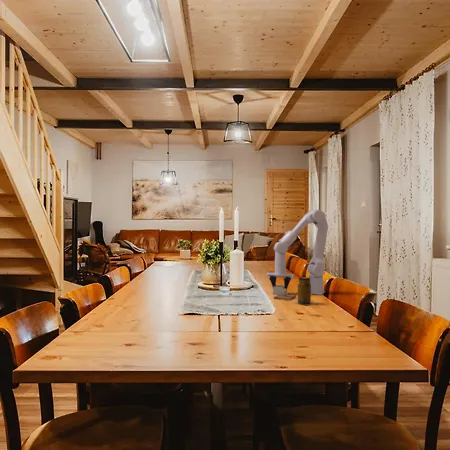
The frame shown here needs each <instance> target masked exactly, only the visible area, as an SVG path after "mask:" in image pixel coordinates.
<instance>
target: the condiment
mask: <svg viewBox="0 0 450 450" xmlns="http://www.w3.org/2000/svg"><path fill="white" fill-rule="evenodd" d="M311 296H312V294H311V284H310V278H309V276H308V277H305V276H302V277H298V283H297V301H294V302H293V303H294V304H298V305H303V306H313V305H317V303H314V302H311V301H312V300H311V299H312V298H311Z"/></svg>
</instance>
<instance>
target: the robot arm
mask: <svg viewBox="0 0 450 450" xmlns="http://www.w3.org/2000/svg"><path fill="white" fill-rule="evenodd" d="M310 224H313V225H315V227H316V229H317V230H316V236H315V237H316V238H315V242H314V248H313V254H312V258H311V259H310V260H309V261H310V262H309V264H308V266H307V273H309V274H308V278H310V284H311V295H320V296H321V295H324V293H326V291H325V290H324V287H325V285H324V278H323V277H324V275H325V266H324V265H325V262H324V252H325V249H326V248H325V247H326V242H327V236H328V229H329V224H328V221H327V217H326V213H324V212H323V210H321V209H311V210H308V212H307V213H306V214H304V215H303V217H302V218H301V219H300V220H299V222H298V223H297V224H296V225H295V227H293V229H292V230H288V231H285V233H284V235H283V236H282V237H281V238H280V239H278V242H275V244H274V246H273V251H274V253H275V254H274V255H275V256H274V272H266V277H267V278H268V277H269V278H268V279H269V281H270V283H271V286H272V288H273V286H276V285H277V278H283V282H284V283H283V284H284V285H283V286H284V289H287V290H288V287H289V284H290V282H291V280H292V279H294V278H295V274H293V273H287V271H286V269H287V266H286V265H287V252H288V251H289V247H291V245H292V244H293V243H294V242H295V241H296V240H297V238H298V237H297V235H298V234H299V233H300V232H301V231H302V230H303V229H304V228H305V227H306V226H307V225H310Z"/></svg>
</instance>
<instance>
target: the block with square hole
mask: <svg viewBox="0 0 450 450" xmlns="http://www.w3.org/2000/svg"><path fill="white" fill-rule="evenodd" d="M272 290H273V295H276V296H277V295H279V294H284V285H281V284H276V286H273V287H272Z"/></svg>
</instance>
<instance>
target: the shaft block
mask: <svg viewBox="0 0 450 450" xmlns="http://www.w3.org/2000/svg"><path fill="white" fill-rule="evenodd" d="M296 297H297V295H296V294H290V293H289V294H288V288H287V289H284V294H279V295H277V294H276V295H275V296H274V297H273V299H274V300H283V301H291V300H293V299H295V298H296Z"/></svg>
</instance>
